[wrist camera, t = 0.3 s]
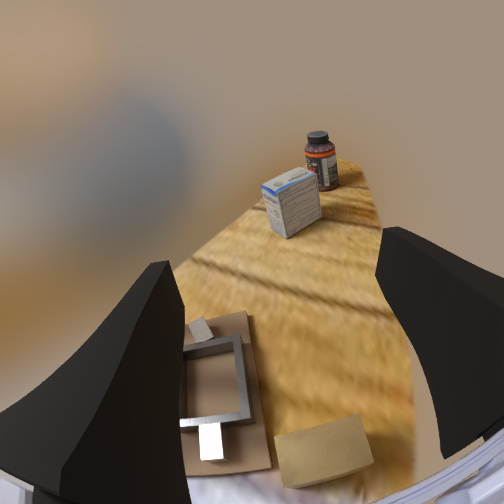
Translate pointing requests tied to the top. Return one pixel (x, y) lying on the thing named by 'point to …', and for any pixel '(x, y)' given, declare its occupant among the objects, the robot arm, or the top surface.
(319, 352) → the top surface
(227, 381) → the brown board
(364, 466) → the block
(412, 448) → the top surface
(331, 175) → the supplement bottle
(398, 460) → the top surface
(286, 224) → the medicine box
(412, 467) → the top surface
